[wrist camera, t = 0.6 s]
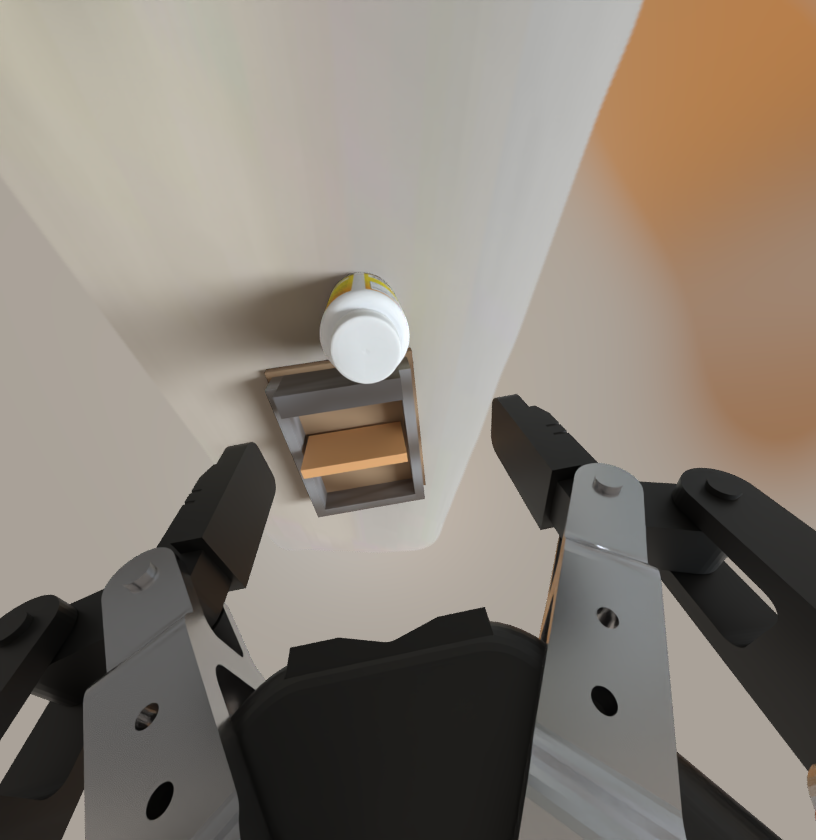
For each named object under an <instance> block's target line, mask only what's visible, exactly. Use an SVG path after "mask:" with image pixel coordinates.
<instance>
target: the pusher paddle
mask: <svg viewBox="0 0 816 840" xmlns="http://www.w3.org/2000/svg"><path fill="white" fill-rule="evenodd" d="M402 462H408V459H407V452H406V447H405V442H404V437H403V432H402V426H401V421H399V422H393V423H387V424H381V425H375V426H368V427H362V428H356V429H350V430H343V431H337V432H331V433H325V434H319V435H312V436H309V438H308V442H307V446H306V450H305V454H304V458H303V462H302V466H301V470H300V471H301V473H302V476H303V478H304V479H307V478H313V477H319V476H325V475H331V474H337V473H343V472H349V471H355V470H361V469H367V468H373V467H378V466H384V465H390V464H396V463H402Z"/></svg>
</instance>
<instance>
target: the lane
mask: <svg viewBox="0 0 816 840" xmlns="http://www.w3.org/2000/svg"><path fill="white" fill-rule="evenodd" d="M264 374H265V376H266V378H267V381H268V383H269V384H268V386H267V387H266V389H265V393H266V395H267V397H268V400H269V402H270V404H271V407H272V409H273V412H274V414H275V416H276V419H277V421H278V423H279V426H280V428H281V430H282V433H283V435H284V438H285V440H286V442H287V445H288V447H289V449H290V452H291V454H292V456H293V459H294V461H295V463H296V466H297V468H298V471H299V473H300V475H301V478H302V480H303V482H304V485H305V487H306V489H307V492H308V494H309V497H310V499H311V501H312V504H313V506H314V508H315V511H316V513H317V515H318V517H323V516H328V515H334V514H340V513H346V512H351V511H357V510H363V509H369V508H374V507H380V506H386V505H391V504H397V503H403V502H409V501H414V500H420V499H425V496H424V487H423V485H426V484H425V475H424V465H423V455H422V446H421V436H420V426H419V417H418V407H417V397H416V388H415V378H414V368H413V359H412V350H411V348H408V349H407V352H406V354H405V356H404V358H403V359H402V361H401V362H400V363H399V365H398V366H397V367H396V369H395V370H394V371H393V373H392V374H391V375H390V376H388V377H387V378H385V379H384V380H382V381H379V382H376V383H371V384H363V383H357V382H354V381H351V380H349V379H348V378H346V377H344V376H343V375H342V374H341V373H340V372H339V371H338V370H337V369H336V367H335V366H334V365H333V364H332V363H331V362H330V361H329V360H326V361H319V362H312V363H306V364H299V365H292V366H286V367H279V368H272V369H267V370H266V371H265V373H264ZM399 421H401V426H402V432H403V437H404V442H405V447H406V452H407V459H408V462H402V463H396V464H390V465H384V466H378V467H373V468H367V469H361V470H355V471H349V472H343V473H337V474H331V475H325V476H319V477H313V478H307V479H304V478H303V476H302V473H301V471H300V470H301V466H302V462H303V458H304V454H305V450H306V446H307V442H308V438H309V436H312V435H319V434H325V433H331V432H337V431H343V430H350V429H356V428H362V427H368V426H375V425H381V424H387V423H393V422H399Z"/></svg>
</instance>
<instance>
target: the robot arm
mask: <svg viewBox="0 0 816 840" xmlns="http://www.w3.org/2000/svg"><path fill="white" fill-rule="evenodd" d="M491 439H492V444H493V448H494V450H495V452H496V454H497V456H498V458H499V459H500V461H501V463H502V464H503V466H504V468H505V469H506V471H507V473H508V475H509V476H510V478H511V480H512V482H513V483H514V485H515V487H516V488H517V490H518V492H519V494H520V495H521V497H522V499H523V501H524V502H525V504H526V506H527V507H528V509H529V511H530V513H531V514H532V516H533V518H534V519H535V521H536V523H537V524H538V526H539V528H540V530H542V529H547V528H552V527H554V528H555V529H556V531H557V532H558V534H559V538H558V543H557V548H556V554H555V559H554V564H553V570H552V575H551V581H550V587H549V591H548V597H547V602H546V607H545V611H544V616H543V620H542V625H541V630H540V635H539V638H537V637H536V636H534V635H532V634H530V633H528V632H526V631H524V630H522V629H519V628H517V627H514V626H511V625H508V624H503V623H499V622H492V621H489V619H488V616H487V612H486V609H485V607H483V608H478V609H473V610H468V611H464V612H459V613H454V614H449V615H445V616H440V617H437V618H435V619H433V620H431V621H429V622H428V623H426V624H424V625H422V626H420V627H418V628H417V629H415V630H413V631H411V632H409V633H407V634H405V635H403V636H402V637H400V638H398V639H396V640H394V641H391V642H376V641H367V640H357V639H347V638H335V639H330V640H326V641H321V642H316V643H311V644H306V645H301V646H297V647H292V648H290V653H289V658H288V664H287V666H286V667H284V668H282V669H281V670H279V671H278V672H276V673H275V674H273V675H272V676H271V677H269V678H268V679H267V680H265V679H264V677H263V676H262V674H261V673H260V672H259V670H258V669H257V668H256V666H255V664H254V663H253V661H252V659H251V657H250V654H249V652H248V650H247V648H246V645H245V643H244V641H243V639H242V636H241V634H240V632H239V630H238V628H237V625H236V623H235V621H234V619H233V616H232V614H231V612H230V609H229V607H228V606H227V605H226V604H225V603H224V602H225V599H226V596H227V593H228V592H229V591H233V590H239V589H244V588H246V586H247V583H248V580H249V576H250V573H251V570H252V567H253V563H254V560H255V557H256V553H257V550H258V547H259V544H260V541H261V537H262V534H263V531H264V528H265V524H266V521H267V518H268V515H269V511H270V508H271V505H272V502H273V499H274V495H275V491H276V484H275V479H274V476H273V474H272V472H271V470H270V468H269V466H268V465H267V463H266V461H265V459H264V457H263V455H262V453H261V452H260V450H259V448H258V446H257V445H256V444H255V443H253V442H250V443H245V444H239V445H234V446H229V447H227V448H226V449H225V450H224V452H223V454H222V456H221V457H220V459H219V461H218V462H217V464H215V465H213V466H212V467H211V468H210V469H208V470H207V472H205V473H204V474H203V475H202V476H201V477H200V478H199V480H198V481H197V483H196V484H195V486H194V488H193V490H192V493H191V494H189V496H188V497H187V499H186V501H185V505H183V506H182V507H181V509H180V510H179V512H178V514H177V515H176V517H175V518H174V520H173V522H172V523H171V525H170V527H169V528H168V530H167V532H166V533H165V535H164V536H163V538H162V540H161V541H160V543H159V544H158V546H157V548H154V549H151V550H148V551H146V552H144V553H141V554H140V555H138V556H136V557H134V558H133V559H132V560H130V561H129V562H127V563H126V564H125V565H124V566H123V567H121V568H120V569H119V570H118V571H117V572H116V573H115V574H114V575H113V576H112V578H111V579H110V580H109V582H108V583H107V585H106V586H105V588H104V589H103V590H101V591H98V592H96V593H94V594H92V595H90V596H87V597H85V598H83V599H81V600H78V601H76V602H74V603H71V604H68V603H66V602H65V601H63V600H61V599H60V598H58V597H56V596H54V595H44V596H40V597H37V598H34V599H32V600H29V601H27V602H25V603H23V604H21V605H20V606H18V607H16V608H14V609H13V610H12V611H10V612H8V613H7V614H5V615H4V616H3V617H2V618H0V740H1V738H2V737H3V735H4V734H5V732H6V731H7V729H8V727H9V726H10V724H11V723H12V721H13V720H14V718H15V717H16V715H17V714H18V712H19V711H20V709H21V708H22V706H23V704H24V703H25V701H26V700H27V698H28V697H29V695H30V694H32V695H35V696H38V697H41V698H43V699H46V700H49V701H50V702H49V704H48V705H47V707H46V709H45V710H44V712H43V714H42V715H41V717H40V719H39V720H38V722H37V724H36V725H35V727H34V729H33V730H32V732H31V734H30V735H29V737H28V739H27V740H26V742H25V744H24V745H23V747H22V749H21V750H20V752H19V754H18V755H17V757H16V759H15V760H14V762H13V764H12V765H11V767H10V769H9V770H8V772H7V773H6V775H5V777H4V779H3V780H2V782H1V784H0V840H61V839H62V837H63V835H64V832H65V830H66V828H67V826H68V824H69V821H70V819H71V817H72V815H73V812H74V810H75V808H76V806H77V803H78V801H79V799H80V796H81V795H82V792H83V790H84V795H85V840H782V839H781V838H780V837H779V836H777V835H776V834H775V833H774V832H773V831H771V830H770V829H769V828H768V827H766V826H765V825H764V824H763V823H762V822H761V821H759V820H758V819H757V818H756V817H755V816H753V815H752V814H751V813H750V812H749V811H747V810H746V809H745V808H744V807H743V806H741V805H740V804H739V803H738V802H736V801H735V800H734V799H733V798H732V797H731V796H729V795H728V794H727V793H726V792H725V791H723V790H722V789H721V788H720V787H719V786H717V785H716V784H715V783H714V782H713V781H711V780H710V779H709V778H708V777H706V776H705V775H704V774H703V773H702V772H700V771H699V770H698V769H697V768H695V766H693V765H692V764H691V763H690V762H689V761H687V760H686V759H685V758H684V757H682V756H681V755H680V754H679V753H678V752H677V751H676V740H675V729H674V718H673V706H672V695H671V684H670V673H669V661H668V651H667V640H666V628H665V616H664V605H663V594H662V583H661V580H662V581H663V583H664V584H665V585H666V587H667V588H668V589H669V591H670V592H671V593H672V594H673V596H674V597H675V598H676V600H677V601H678V602H679V603H680V605H681V606H682V607H683V609H684V610H685V611H686V612H687V614H688V615H689V617H690V618H691V619H692V620H693V622H694V623H695V624H696V626H697V627H698V628H699V630H700V631H701V632H702V634H703V635H704V636H705V637H706V639H707V640H708V641H709V643H710V644H711V645H712V646H713V648H714V649H715V650H716V652H717V653H718V654H719V656H720V657H721V658H722V660H723V661H724V662H725V664H726V665H727V666H728V667H729V669H730V670H731V671H732V673H733V674H734V675H735V677H736V678H737V679H738V680H739V682H740V683H741V684H742V685H743V687H744V688H745V690H746V691H747V692H748V694H749V695H750V696H751V697H752V699H753V700H754V701H755V703H756V704H757V705H758V707H759V708H760V709H761V710H762V712H763V713H764V714H765V716H766V717H767V718H768V720H769V721H770V722H771V723H772V725H773V726H774V727H775V729H776V730H777V731H778V733H779V734H780V735H781V736H782V738H783V739H784V740H785V742H786V743H787V744H788V746H789V747H790V748H791V750H792V751H793V752H794V753H795V755H796V756H797V757H798V759H800V761H801V763H802V764H803V765H804V766H805V768H806V769H807V770H808V776H807V785H808V791H809V795H810V798H811V800H812V803H813V806H814V809H815V819H816V531H815V530H814V529H812V528H811V527H809V526H808V525H807V524H805V523H804V522H803V521H801V520H800V519H798V518H797V517H796V516H794V515H793V514H792V513H790V512H789V511H787V510H786V509H785V508H783V507H782V506H780V505H779V504H778V503H776V502H775V501H774V500H772V499H771V498H770V497H768V496H767V495H765V494H764V493H763V492H761V491H760V490H759V489H757V488H755V487H754V486H753V485H751V484H750V483H748V482H747V481H745V480H743V479H741V478H739V477H737V476H735V475H732V474H730V473H726V472H723V471H719V470H715V469H709V468H694V469H690V470H687V471H685V472H684V473H683V474H682V475H681V477H680V479H679V481H678V483H677V484H669V483H651V482H640V481H638V480H637V479H636V478H635V477H634V476H633V475H631V474H630V473H628V472H627V471H625V470H623V469H621V468H619V467H616V466H613V465H609V464H603V463H598V462H597V461H596V460H595V459H594V458H593V457H592V456H591V455H590V454H589V453H588V452H587V451H586V450H585V449H584V448H583V447H582V446H581V445H580V444H579V443H578V442H577V441H576V440H575V439H574V438H573V437H572V436H571V435H570V434H569V433H567V432H566V430H565V429H564V428H563V427H562V426H561V425H559V423H558V421H557V420H556V419H555V418H554V417H553V416H552V415H551V414H550V413H548V412H546V411H544V410H542V409H540V408H539V407H537V406H530V407H529V406H528V405H527V404H526V403H525V402H524V401H523V400H522V399H521V397H520V396H519V395H517V394H514V395H509V396H504V397H498V398H494V399H493V402H492V425H491ZM727 556H728V557H729V558H730V559H731V560H732V561H733V562H734V563H735V564H736V565H737V566H738V567H739V568H740V569H741V570H742V571H743V572H744V573H745V574H746V575H747V576H748V577H749V578H750V579H751V580H752V581H753V582H754V583H755V584H756V585H757V586H758V587H759V588H760V589H761V590H762V591H763V592H764V593H765V594H766V595H767V596H768V597H769V599H770V600H771V601H772V603H773V604H774V606H775V608H776V611H777V614H778V615H777V614H776V613H775V612H774V611H773V610H772V609H771V608H770V607H769V606H768V605H767V604H766V603H765V602H764V601H763V600H762V599H761V598H760V597H759V596H758V595H757V594H756V593H755V592H754V591H753V590H752V589H751V588H750V587H749V586H748V585H747V584H746V583H745V582H744V581H743V580H742V579H741V578H740V577H739V576H738V575H737V574H736V573H735V572H734V571H733V570H732V569H731V568H730V567H729V566H728V565H727V564H726V563H725V561H724V560H725V559H726V558H727Z"/></svg>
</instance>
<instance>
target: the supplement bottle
mask: <svg viewBox="0 0 816 840" xmlns="http://www.w3.org/2000/svg"><path fill="white" fill-rule="evenodd" d="M409 337H410V335H409V326H408V323H407V319H406V317H405V315H404V313H403V311H402V309H401V307H400V304H399V302H398V300H397V298H396V296H395V294H394V292H393V291H392V289H391V288H390V286H389V285H388V284H387V283H386V282H385V281H384V280H382V279H381V278H379V277H378V276H375V275H373V274H370V273H362V272H361V273H354V274H350V275H348V276H346V277H344V278H343V279H342V280H341V281H339V282H338V283H337V285H336V286H335V287H334V289H333V291H332V293H331V295H330V298H329V301H328V303H327V306H326V309H325V312H324V314H323V317H322V320H321V324H320V342H321V346H322V349H323V351H324V353H325V355H326V357H327V358H328V360H329V361H330V362H331V363H332V364H333V365H334V366H335V367H336V369H337V370H338V371H339V372H340V373H341V374H342V375H343V376H344V377H346V378H348V379H349V380H351V381H354V382H357V383H363V384H371V383H376V382H379V381H382V380H384V379H385V378H387V377H388V376H390V375H391V374H392V373H393V371H394V370H395V369H396V367H397V366H398V365H399V363H400V362H401V361H402V359H403V358H404V356H405V354H406V352H407V349H408V345H409Z"/></svg>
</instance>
